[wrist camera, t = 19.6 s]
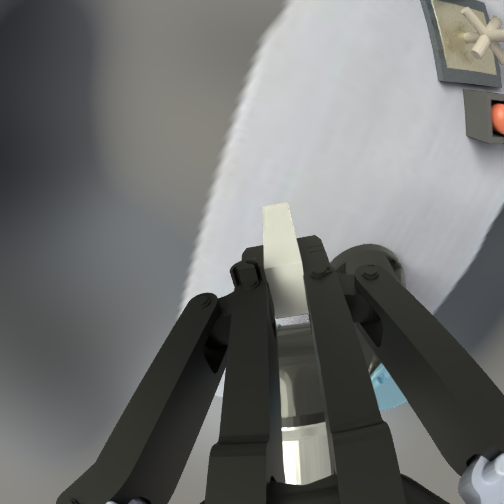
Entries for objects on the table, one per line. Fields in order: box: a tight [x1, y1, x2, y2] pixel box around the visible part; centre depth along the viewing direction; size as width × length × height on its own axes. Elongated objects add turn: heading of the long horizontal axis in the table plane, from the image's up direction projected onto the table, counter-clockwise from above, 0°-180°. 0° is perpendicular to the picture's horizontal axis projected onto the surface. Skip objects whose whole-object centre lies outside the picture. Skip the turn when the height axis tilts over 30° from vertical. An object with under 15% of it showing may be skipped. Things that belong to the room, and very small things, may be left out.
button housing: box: [463, 89, 504, 143], centre depth 30 cm, size 8×8×6 cm
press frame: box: [420, 0, 502, 88], centre depth 16 cm, size 19×14×22 cm
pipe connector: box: [461, 7, 504, 66], centre depth 21 cm, size 10×10×10 cm
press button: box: [491, 103, 504, 134], centre depth 27 cm, size 5×5×3 cm
